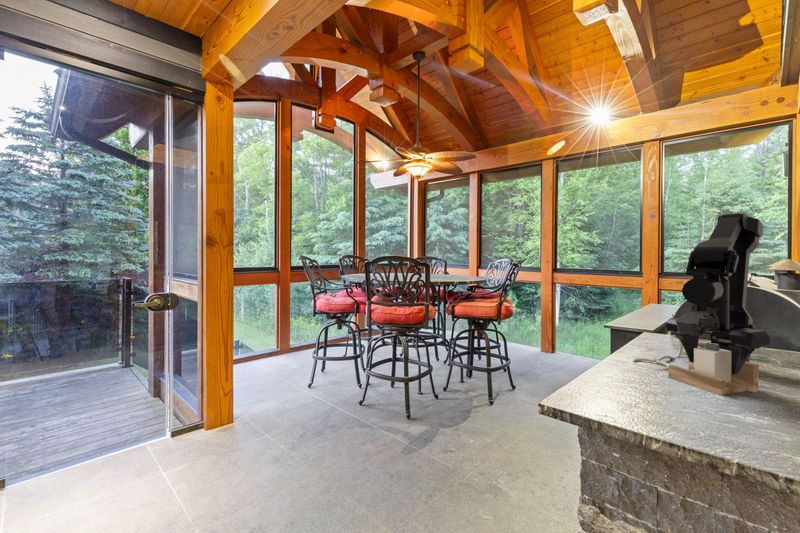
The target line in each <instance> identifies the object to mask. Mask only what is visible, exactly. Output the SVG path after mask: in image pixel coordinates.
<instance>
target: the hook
mask: <svg viewBox="0 0 800 533" xmlns="http://www.w3.org/2000/svg"><path fill="white" fill-rule="evenodd" d="M671 338H677V337H676V336H675V335H673V334H672V336H671ZM677 340H678V343H679V348H678V352H677V354H676V355H675V356H674V357H673V356H671V355H669V354H668V355H662V356H659V357H658V358H650V357H649V358H648V357H636V358H633V359H631V361H630V363H631V364H632V365H634V366H637V367H641V368H645V367H646V368H647V369H649V368H650V370H654V371H655V370H656V371H668V365H670V363H668V362H666V361H663V360H665V359H670V360H676V359H679V358H681V356H682V354H683V350H684V347H683V344H682V343H681V341H680V339H679V338H677ZM642 361H643V362H649V363H657V364H658V365H659V364H660V365H663V366H665V367H661V368H657V367H651V366H648V365H647V366H646V365H642V364H638V363H636V362H642Z"/></svg>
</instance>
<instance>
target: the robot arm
mask: <svg viewBox="0 0 800 533" xmlns="http://www.w3.org/2000/svg"><path fill="white" fill-rule="evenodd" d="M711 232H712V233H711V234H710V235H709V237H708V239H707V240H704V241H701V242H699V243H698V244H697V245H696V246H695V247H694V248H693V250H692V251H690V254H689V257H688V258H689V259H688V262H687V265H686V271H685V276H690V277H691V276H692V279H689V280H687V281H686V282H685V283H684V285H682V286H683V287H682V289H681V293H682V296H683V298H684V299H685V300H686V301H687V302H688V303H691V304H692V305H691V310H690V312H687V313H685V314H683V315H681V316H679V317H676V318H668V319H667V321H666V322H665V330H666V331H670V334H671V335H672V336H673V335H675V336H676V337H675V338H677V339H678V338H679V339H680V341H681V343H682V344H683V350H684V352H685V354H686V355H687V358H688V362H689V361H690V362H692V363H693V362H694V348H699V347H698V346H699V340H700V336H702V335H703V334H708V335H709V338H710V344H714V345H719V348H720V349H724V350H729V351H731V369H732V374H738V372H739V371H740V369H741V368H742V366H743V365H744V363H745V361H746V362H750V363H751V361H750V360H751V354H752V353H753V352H754V351H755V350H756V349H760V348H763V346H768V345H771V344H770V342H771V340H770V335H769V333H767V332H766V331H765V330H761V329H757V328H756V325H755V324H754V320H753V318H752V317H751V315H750V313H749V312H748V310H747V309H746V307H747V306H746V302H747V293H748V292H747V290H748V277H749V264H750V257H751V256H750V255H751V254H752V253H753V252H754V251H755V249H757V248H758V246H760V244H759V243H760V238H762V237H763V234H764V225H763V223H762V222H761V220H760V219H758V218H755V217H752V216H747V215H746V213H742V212H734V213H724V214H723V213H722V214H721V215H718V217H717V222H716V226H715V227H714V228H713V231H711Z"/></svg>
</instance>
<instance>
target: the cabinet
mask: <svg viewBox="0 0 800 533" xmlns="http://www.w3.org/2000/svg"><path fill="white" fill-rule="evenodd" d="M694 372H698V373H701V374H705V375H708V376H711V377H715V378H718V379H722V380H725V383H726V382H731V351H729V350H724V349H720V348H719V345H718V344H712V343H711V342H710V343H708V342H707V343H706V342H705V346H703V347H698V348H694Z"/></svg>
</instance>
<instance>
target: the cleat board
mask: <svg viewBox="0 0 800 533" xmlns="http://www.w3.org/2000/svg"><path fill="white" fill-rule="evenodd" d="M759 365H760V364H758V363H755V362H754V363H753V362H751V361H750V362H746V361H745V363H744V365H743V366H742V368H741V369H740V371H739V372H738V374H732V369H731V382H726V383H725V380H722V379H718V378H715V377H711V376H708V375H705V374H701V373H698V372H694V362H693V363H692V362H690V361H689V360H688V369H687V368H683V367H681V366H678V365H674V364H669V365H668V370H667V371H668V372H667V373H668V374H667V375H668V376H667V377H668V379H672V380H675V381H679V382H680V383H684V384H687V385H690V386H693V387H696V388H699V389H702V390H705V391H707V392H711V393H714V394H717V395H719V396H725V395H729V394H735V393H736V394H737V393H743V392H749V393H759V385H760V384H759V380H760V379H759V375H760V374H759V369H760V368H759Z"/></svg>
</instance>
